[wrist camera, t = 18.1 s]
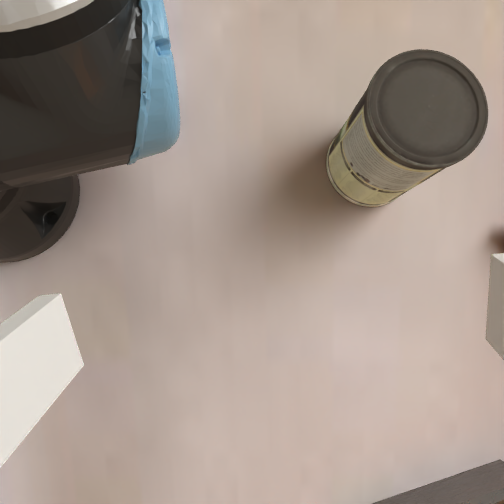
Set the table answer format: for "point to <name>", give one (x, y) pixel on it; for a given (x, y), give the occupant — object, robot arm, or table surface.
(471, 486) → the tray
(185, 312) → the table surface
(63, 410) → the table surface
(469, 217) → the table surface
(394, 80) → the coffee can
